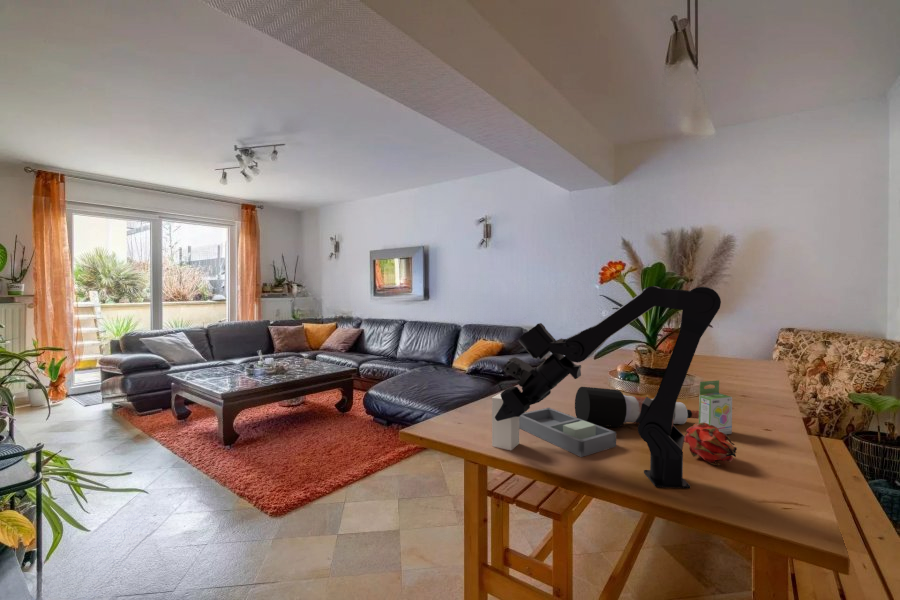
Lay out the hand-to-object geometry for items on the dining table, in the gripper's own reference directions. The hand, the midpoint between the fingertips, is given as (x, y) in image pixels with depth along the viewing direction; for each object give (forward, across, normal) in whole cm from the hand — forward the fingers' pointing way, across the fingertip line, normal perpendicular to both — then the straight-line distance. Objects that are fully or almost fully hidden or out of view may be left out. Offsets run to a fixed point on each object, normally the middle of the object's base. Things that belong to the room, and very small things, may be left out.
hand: (504, 413), depth 100 cm
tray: (-2, -13, +13) cm, 18 cm away
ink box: (-26, -36, +36) cm, 57 cm away
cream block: (+5, 0, +6) cm, 8 cm away
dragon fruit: (-25, -16, +36) cm, 46 cm away
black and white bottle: (-13, -33, +24) cm, 43 cm away
